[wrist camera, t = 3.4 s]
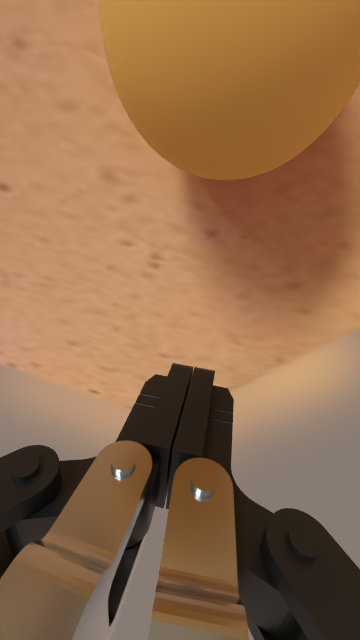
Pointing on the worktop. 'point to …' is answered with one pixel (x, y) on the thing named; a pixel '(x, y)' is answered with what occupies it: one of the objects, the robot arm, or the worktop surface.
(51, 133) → the worktop surface
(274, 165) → the ball
